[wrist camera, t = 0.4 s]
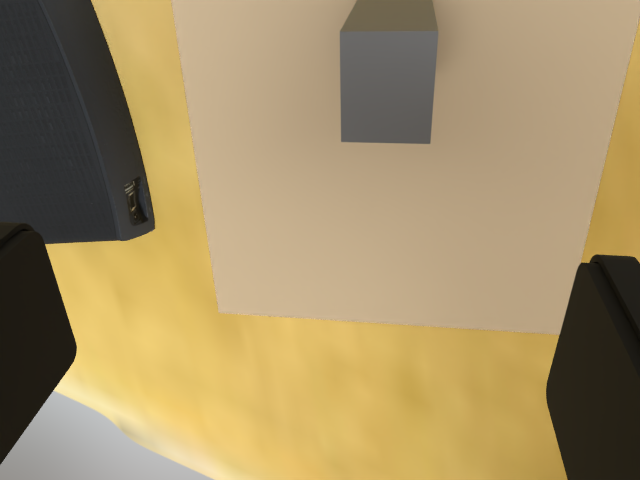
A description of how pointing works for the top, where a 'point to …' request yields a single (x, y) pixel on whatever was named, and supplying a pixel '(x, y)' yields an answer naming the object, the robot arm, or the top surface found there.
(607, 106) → the carton lid
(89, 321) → the top surface
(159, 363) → the top surface
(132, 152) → the external hard drive
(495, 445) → the top surface
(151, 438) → the top surface
